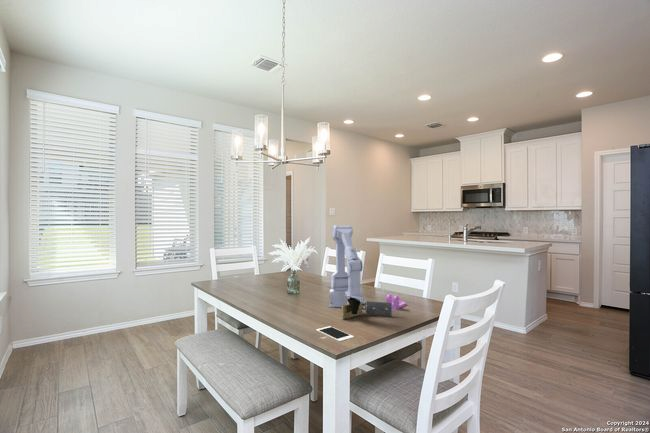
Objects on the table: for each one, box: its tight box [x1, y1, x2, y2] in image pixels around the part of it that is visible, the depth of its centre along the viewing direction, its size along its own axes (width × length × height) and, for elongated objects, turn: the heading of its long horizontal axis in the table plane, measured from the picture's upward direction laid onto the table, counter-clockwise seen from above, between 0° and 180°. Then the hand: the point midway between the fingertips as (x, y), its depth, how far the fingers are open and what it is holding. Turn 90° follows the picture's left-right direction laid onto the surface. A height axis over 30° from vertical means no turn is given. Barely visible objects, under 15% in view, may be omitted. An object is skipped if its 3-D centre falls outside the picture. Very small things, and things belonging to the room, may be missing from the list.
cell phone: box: [315, 325, 355, 342], centre depth 133 cm, size 8×16×1 cm, turn 37°
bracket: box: [385, 293, 406, 311], centre depth 174 cm, size 13×6×7 cm, turn 139°
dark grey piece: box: [361, 299, 393, 317], centre depth 157 cm, size 15×2×7 cm, turn 77°
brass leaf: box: [341, 302, 367, 320], centre depth 155 cm, size 15×2×6 cm, turn 127°
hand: (354, 313), depth 152 cm, fingers closed
